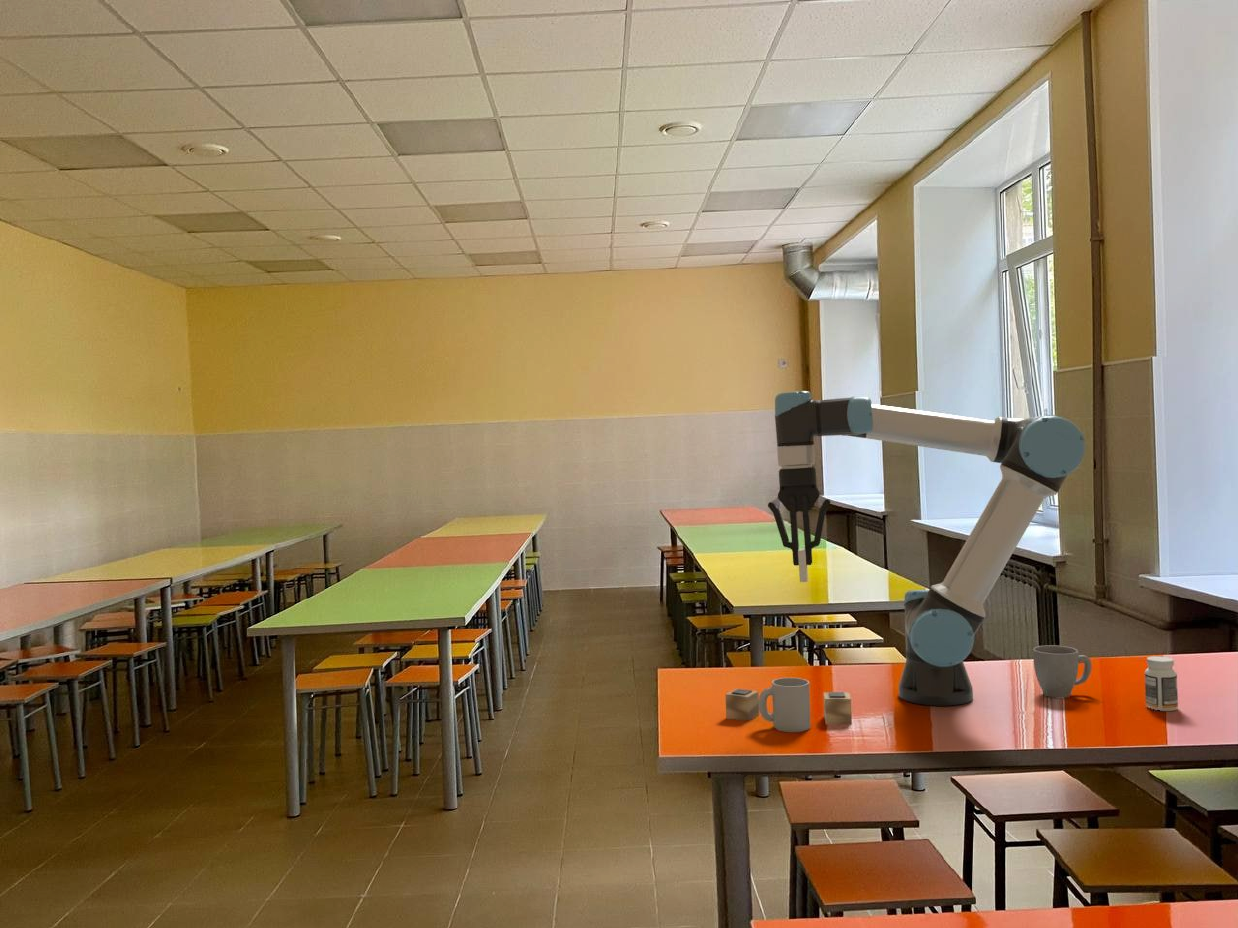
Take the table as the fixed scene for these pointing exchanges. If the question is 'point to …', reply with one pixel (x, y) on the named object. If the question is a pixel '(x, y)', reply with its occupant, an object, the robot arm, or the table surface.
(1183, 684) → the table surface
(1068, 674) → the mug
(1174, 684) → the pill bottle
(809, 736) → the table surface
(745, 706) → the oak block
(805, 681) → the cup
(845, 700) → the oak block
